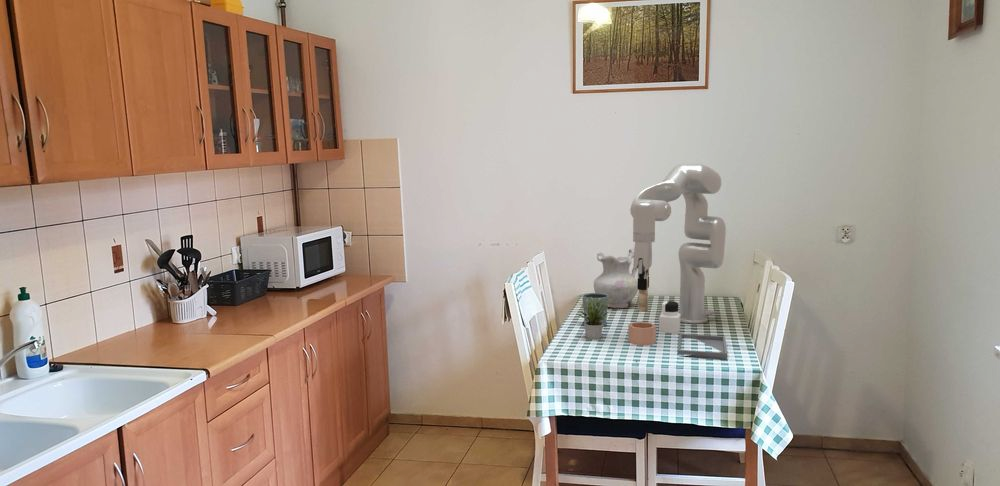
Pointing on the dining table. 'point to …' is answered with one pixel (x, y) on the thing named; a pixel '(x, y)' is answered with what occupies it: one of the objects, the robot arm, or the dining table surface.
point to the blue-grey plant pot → (596, 297)
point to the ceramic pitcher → (617, 280)
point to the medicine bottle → (669, 318)
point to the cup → (642, 333)
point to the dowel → (643, 299)
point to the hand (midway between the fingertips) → (643, 288)
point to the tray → (712, 341)
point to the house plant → (594, 319)
